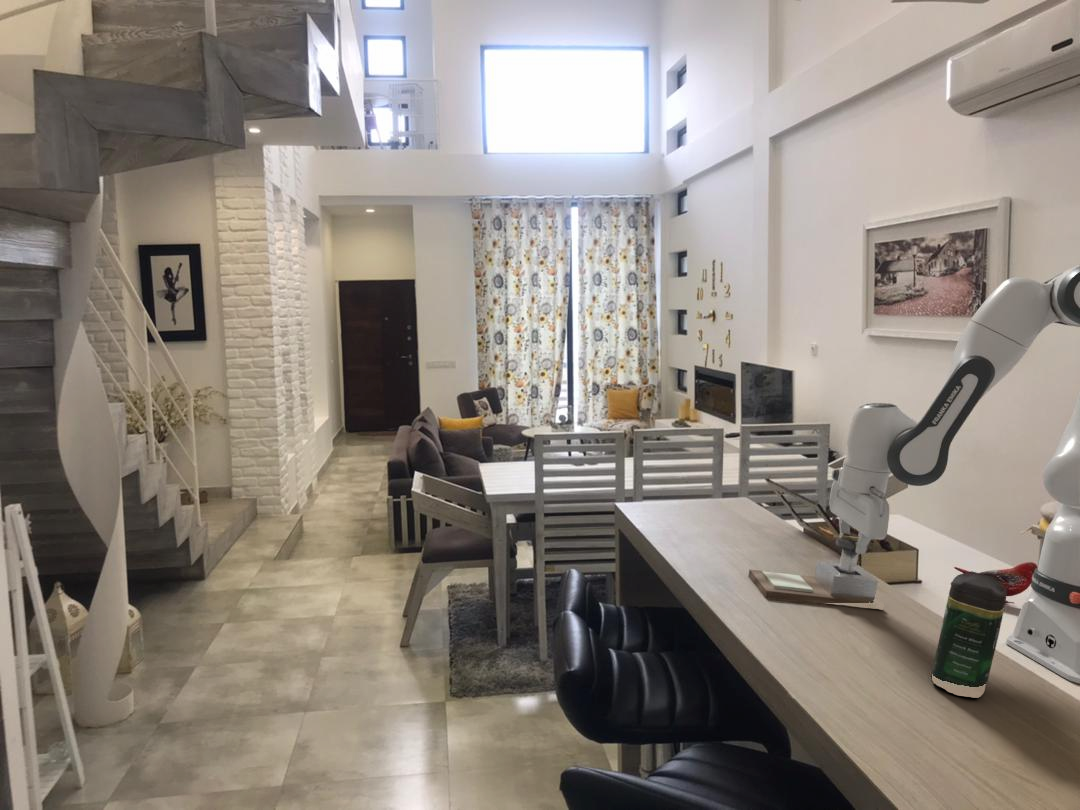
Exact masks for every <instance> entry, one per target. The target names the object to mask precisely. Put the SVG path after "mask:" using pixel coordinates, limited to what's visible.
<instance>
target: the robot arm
mask: <svg viewBox="0 0 1080 810" xmlns="http://www.w3.org/2000/svg"><path fill="white" fill-rule="evenodd" d="M1051 324H1060V325H1064V326H1070V327H1075V328H1080V265H1079V264H1078V265H1075V266H1073V267H1071V268H1068V269H1066V270H1065V271H1063V272H1061V273H1059V274H1058V275H1055V276H1054V277H1052V278H1051V279H1048V280H1046V281H1045V282H1039V281H1037V280H1034V279H1031V278H1029V277H1022V276H1018V277H1015V276H1014V277H1010V278H1008V279H1006V280H1004V281H1003V282H1001V283H1000V284H999V285H998V286H997V287H996V288H995V289H994V290H993V291H992V293H990V295H989V296H988V297H987V298H986V299H985V300H984V302H983V303H982V304H981V305H980V306H979V308H978V309H977V310H976V312H975V313H974V314H973V316H972V317H971V318H970V320H969V322H968V323H967V324H966V326H965V327H964V329H963V331H962V333H961V335H960V336H959V339H958V340H957V344H956V345H955V348H954V351H953V354H952V357H951V363H950V368H949V372H948V375H947V378H946V380H945V382H944V384H943V386H942V388H941V390H940V392H939V393H938V394H937V396H936V397H935V399H934V400H933V401H932V403H931V404H930V406H929V407H928V409H927V410H926V412H925V413H924V415H923V417H921V419H920V420H919V422H918V421H916V420H915V419H913V418H912V417H910V416H909V415H907V414H906V413H904V412H903V411H902V410H901V408H899V407H898V405H895V404H893V403H887V402H875V403H874V402H873V403H865V404H863V405H861V406H859V407H858V408H856V410H855V412H854V414H853V415H852V419H851V422H850V426H849V429H848V430H849V431H848V436H847V438H846V439H847V440H846V445H847V452H846V456H845V457H844V459H843V463H842V466H841V467H838V468H833V470H832V473H831V479H832V480H833V481H832V484H831V488H830V493H829V494H830V495H829V503H828V504H829V510H830V512H831V513H832V514H834V515H836V516H837V517H838V518H839V519H838V526H839V535H848V536H852V534H851V527H852V528H853V529H854V530H855V531H857V532H858V535H857V537H859V539H858V541H857V543H855V545H854V551H855V552H856V553H858V554H859V555H865V554H866V552H867V551H866V546H867V545H868V546H869V543H870V542H871V541H872V540H878V541H879V540H880V541H882V540H884V539H885V538H886V537H887V535H888V529H889V521H890V504H889V502H888V500H887V499H886V492H887V489H888V484H889V477H890V473H891V474H892V475H893V476H894V477H895V478H896V479H897V480H898V481H900V482H902V483H903V484H906V485H909V486H915V487H922V486H923V487H924V486H928V485H930V484H932V483H936V481H938V480H939V479H940V478H941V477H942V476H943V474H944V473H945V471H946V469H947V467H948V466H947V465H948V462H949V461H948V460H949V453H950V452H949V451H950V447H951V444H952V442H953V440H954V439H955V437H956V435H957V434H958V432H959V431H960V429H961V428H962V426H963V425H964V423H966V421H967V419H968V418H969V416H970V414H971V413H972V412H973V410H974V408H975V407H976V406H977V404H978V403H979V402H980V400H981V399H982V398H983V397H984V396H985V395H986V394H987V393H988V392H990V391H991V390H992V388H994V387H995V386H996V385H997V384H998V383H999V382H1001V380H1002V379H1003V378H1005V377H1006V376H1007V375H1008V374H1009V373H1010V372H1011V371H1012V370H1013V369H1014V368H1015V366H1016V365H1018V363H1019V362H1020V361H1021V359H1022V358H1023V357H1024V355H1025V354H1026V353H1027V351H1028V349H1029V348H1030V347H1031V346H1032V344H1033V343H1034V341H1035V340H1036V338H1037V336H1039V334H1040V333H1041V332H1042V331H1043V330H1044V329H1046V328H1047V327H1048V326H1050V325H1051ZM1042 473H1043V474H1042V479H1043V485H1044V487H1045V490H1046V491H1047V493H1048V494H1049V496H1050V497H1052V498H1053V499H1054V500H1055V501H1057V502H1058V503H1060V504H1059V505H1058V509H1057V511H1056V513H1055V514H1054V517H1053V518H1052V521H1051V522H1050V524H1048V526H1047V529H1046V530H1045V535H1044V539H1043V543H1042V548H1041V552H1040V556H1039V561H1038V565H1037V567H1038V568H1036V569H1035V571H1034V574H1033V576H1032V583H1031V584H1030V587H1031V592H1030V594H1029V595H1028V597H1027V598H1026V599H1025V600H1024V602H1023V604H1022V606H1021V608H1020V611H1019V614H1018V617H1017V620H1016V622H1015V626H1014V628H1013V632H1012V634H1011V635H1009V636H1007V638H1006V640H1005V644H1006V645H1008V646H1009V647H1011V648H1012V649H1015V650H1017V651H1018V652H1020V653H1021V654H1023V655H1025V656H1026V657H1027V658H1028V657H1029V658H1030V659H1031V660H1034V661H1035V662H1037V663H1039V664H1040V665H1042V666H1044V667H1045V668H1047V669H1049V670H1051V671H1052V672H1053V673H1056V674H1057V675H1059V676H1061V677H1062V678H1064V679H1066V680H1067V681H1069V682H1072V683H1075V684H1080V390H1079V391H1078V395H1077V399H1076V403H1075V405H1074V409H1073V412H1072V414H1071V417H1070V418H1069V421H1068V423H1067V425H1066V427H1065V430H1064V431H1063V433H1062V436H1061V438H1060V439H1059V443H1058V445H1057V447H1056V449H1055V452H1054V453H1053V456H1052V457H1051V459H1050V460H1049V461H1048V463H1047V464H1046V465H1045V467H1044V471H1043V472H1042ZM865 551H866V552H865Z"/></svg>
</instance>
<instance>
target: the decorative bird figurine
mask: <svg viewBox="0 0 1080 810" xmlns="http://www.w3.org/2000/svg"><path fill="white" fill-rule="evenodd" d="M953 568H954V569H955V570H956V571H958V572H959V573H960V572H961V574H964V573H969V572H971V571H970V570H967V569H963V568H960V567H956V566H954V567H953ZM1036 568H1038V565H1037V564H1036V563H1035V562H1033V561H1032V562H1031V561H1029V562H1028V561H1027V562H1023V563H1020V564H1018V565H1016V566H1014V567H1011V568H1005V569H993V570H987V571H981V572H979V573H980V574H983V575H987V576H990V577H994V578H996V579H998V581H999V582H1000V583H1001V584H1002V585H1003V586H1004V587H1005V588H1006V590H1007V595H1006V597H1014V596H1017V595H1019V594H1021V593H1023V592H1025V591H1026V590H1027V589H1028V588H1029V587H1031V583H1032V576H1033V574H1034V571H1035V569H1036ZM1007 604H1014V605H1015V604H1016V603H1015V602H1013V601H1012V602H1011V601H1008V600H1007V599H1006V601H1005V605H1007Z"/></svg>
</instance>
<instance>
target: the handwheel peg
mask: <svg viewBox="0 0 1080 810" xmlns="http://www.w3.org/2000/svg"><path fill="white" fill-rule="evenodd" d="M858 539H859V536H852V535H851V536H848V535H840V534H839V535H837V536H836V540H835V546H836V547H838V548H840V549H841V556H840V558H839V559H840V561H839V563H840V565H839V570H838V571H839V572H840V573H842V574H851V575H855V571H856V565H857V563H858V560H859V555H860V554H858V553H856V552H855V551H854V545H855V543H857V541H858ZM868 547H869V544H868V545H867V546H866V551H865V553H866V552H867V551H868Z"/></svg>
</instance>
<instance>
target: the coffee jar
mask: <svg viewBox="0 0 1080 810" xmlns="http://www.w3.org/2000/svg"><path fill="white" fill-rule="evenodd" d="M980 573H981V572H976V571H970V572H969V573H961V574H957V575H956V576H955V577H954V578H953V579H952V581H951V582H950V589H949V592H948V596H947V601H946V604H945V611H944V614H943V620H942V623H941V629H940V633H939V638H938V639H939V640H938V644H937V648H936V651H935V652H936V653H935V656H934V659H933V666H932V669H931V674H933V676H935V677H936V678H938V679H940V680H942V681H947V682H950V683H954V684H957V685H964V686H969V687H979V686H983V685H984V684H986V682H987V681H988V682H989V679H990V672H991V667H992V666H993V665H992V664H993V661H994V657H995V653H996V648H997V643H998V640H999V635H1000V630H1001V627H1002V621H1003V616H1004V611H1005V605H1006V604H1005V601H1006V600H1007V596H1006V595H1007V590H1006V588H1005V587H1004V586H1003V585H1002V584H1001V583H1000V582H999V581H998V579H996V578H994V577H990V576H987V575H983V574H980ZM988 682H987V683H988Z"/></svg>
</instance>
